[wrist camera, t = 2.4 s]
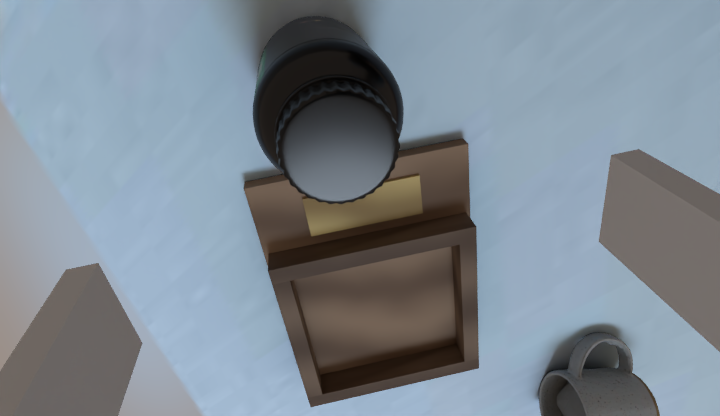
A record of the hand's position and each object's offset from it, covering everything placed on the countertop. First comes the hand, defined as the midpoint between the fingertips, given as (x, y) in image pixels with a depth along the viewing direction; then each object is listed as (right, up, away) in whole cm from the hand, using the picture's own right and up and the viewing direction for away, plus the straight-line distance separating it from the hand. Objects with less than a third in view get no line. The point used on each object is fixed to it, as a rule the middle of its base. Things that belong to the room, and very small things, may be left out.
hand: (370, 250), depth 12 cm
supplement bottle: (-3, +9, +16) cm, 19 cm away
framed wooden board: (+1, -4, +24) cm, 25 cm away
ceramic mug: (+22, -15, +34) cm, 43 cm away
